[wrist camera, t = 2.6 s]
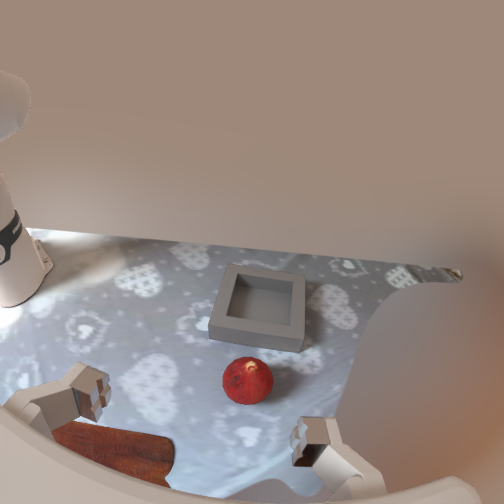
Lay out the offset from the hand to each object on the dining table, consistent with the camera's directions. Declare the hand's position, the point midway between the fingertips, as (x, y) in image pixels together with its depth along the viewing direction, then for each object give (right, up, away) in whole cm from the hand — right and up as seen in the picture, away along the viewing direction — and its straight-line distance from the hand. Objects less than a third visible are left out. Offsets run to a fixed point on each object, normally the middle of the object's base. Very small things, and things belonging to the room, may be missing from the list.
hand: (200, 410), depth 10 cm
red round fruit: (+1, -12, +22) cm, 25 cm away
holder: (+3, -3, +33) cm, 33 cm away
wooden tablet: (-20, -19, +11) cm, 30 cm away
